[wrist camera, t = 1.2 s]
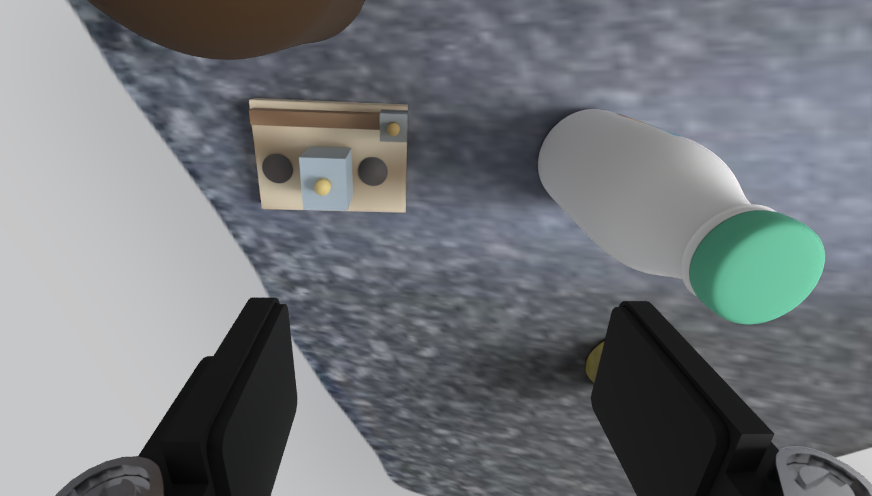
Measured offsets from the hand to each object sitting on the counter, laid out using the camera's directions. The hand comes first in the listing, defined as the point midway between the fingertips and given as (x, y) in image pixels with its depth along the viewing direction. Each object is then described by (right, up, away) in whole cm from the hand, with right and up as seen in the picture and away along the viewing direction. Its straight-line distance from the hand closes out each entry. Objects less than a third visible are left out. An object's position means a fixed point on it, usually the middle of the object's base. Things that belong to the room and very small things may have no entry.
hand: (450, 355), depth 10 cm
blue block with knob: (-8, +8, +23) cm, 25 cm away
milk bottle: (+11, +10, +25) cm, 29 cm away
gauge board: (-8, +10, +24) cm, 27 cm away
